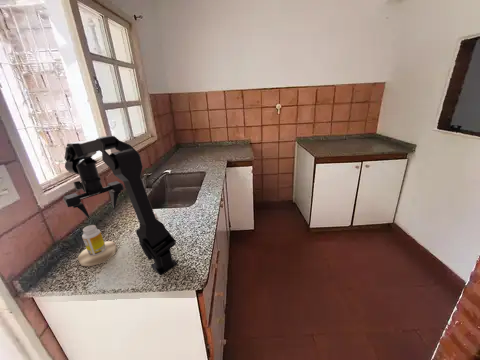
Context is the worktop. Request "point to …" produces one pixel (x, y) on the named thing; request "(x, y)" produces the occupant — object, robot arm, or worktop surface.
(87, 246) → the supplement bottle
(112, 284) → the worktop surface
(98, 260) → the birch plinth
